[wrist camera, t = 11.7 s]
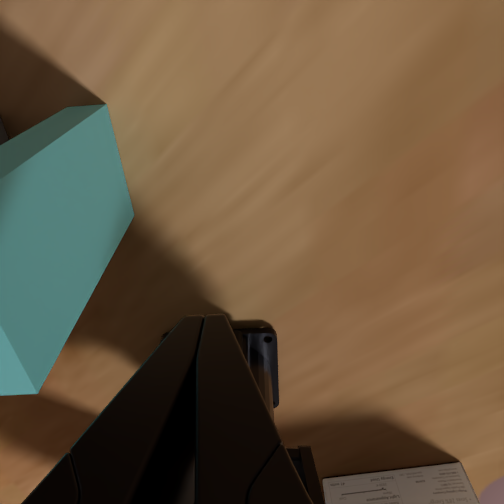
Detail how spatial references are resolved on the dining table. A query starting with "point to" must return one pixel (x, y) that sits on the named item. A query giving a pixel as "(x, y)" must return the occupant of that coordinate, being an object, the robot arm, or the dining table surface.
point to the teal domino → (55, 235)
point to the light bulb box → (403, 487)
